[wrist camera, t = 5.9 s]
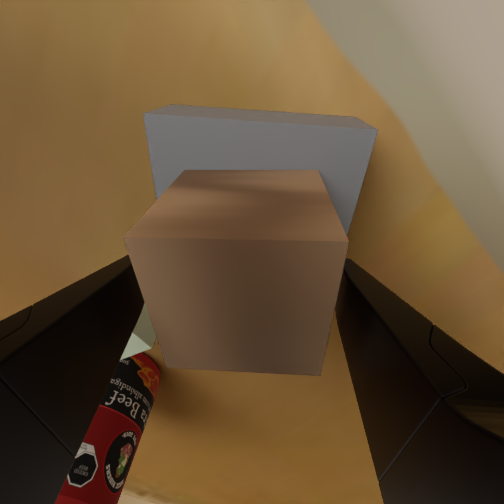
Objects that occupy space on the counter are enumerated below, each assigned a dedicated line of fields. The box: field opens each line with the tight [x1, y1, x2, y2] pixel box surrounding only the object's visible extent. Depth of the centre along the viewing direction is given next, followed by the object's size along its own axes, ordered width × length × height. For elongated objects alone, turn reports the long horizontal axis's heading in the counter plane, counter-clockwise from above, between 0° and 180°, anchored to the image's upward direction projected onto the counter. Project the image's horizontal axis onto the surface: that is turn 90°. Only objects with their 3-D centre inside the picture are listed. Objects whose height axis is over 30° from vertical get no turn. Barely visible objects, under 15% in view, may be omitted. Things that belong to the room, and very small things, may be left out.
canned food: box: [55, 352, 160, 504], centre depth 19 cm, size 8×8×11 cm
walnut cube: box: [123, 170, 349, 376], centre depth 9 cm, size 5×5×5 cm
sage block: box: [120, 303, 156, 360], centre depth 17 cm, size 4×4×4 cm
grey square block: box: [143, 104, 378, 236], centre depth 13 cm, size 8×8×4 cm
